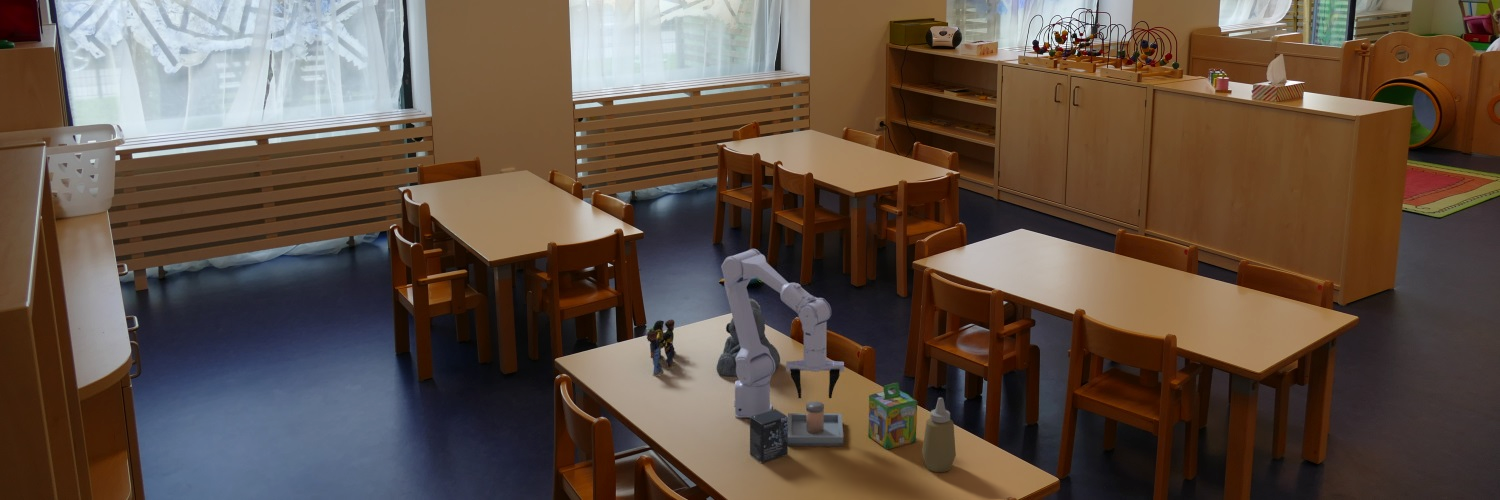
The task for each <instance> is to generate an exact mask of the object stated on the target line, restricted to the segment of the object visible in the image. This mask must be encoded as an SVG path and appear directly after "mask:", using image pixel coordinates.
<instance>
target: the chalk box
mask: <svg viewBox="0 0 1500 500" xmlns="http://www.w3.org/2000/svg"><path fill="white" fill-rule="evenodd" d="M917 416H918V401H917V399H914V398H913V397H912V396H910V395H909V394H908V393H906V392H903V391H901V389H900V384H899V382H893V383H890V384H885V385H884V386H883V391H880V392H877V393H873V394H869V395H868V432H867V433H868V437H869V439H870V438H871V439H872V440H873V441H875V442H876V443H878V444H879V445H880V446H882V447H884V448H885V449H886V450H889V449H895V448H898V447H902V446H905V445H909V444H912V443H916V442H917V441H916V440H917V420H918V419H917Z"/></svg>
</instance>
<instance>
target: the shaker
mask: <svg viewBox="0 0 1500 500" xmlns="http://www.w3.org/2000/svg"><path fill="white" fill-rule="evenodd" d="M805 409H806V410H805V411H806V430H807V432H809V433H811V434H819V433H822V432H823V431H824V413H825V412H824V411H825V404H824V403H823V402H821V401H817V400H814V401H808V402H807V403H806V405H805Z"/></svg>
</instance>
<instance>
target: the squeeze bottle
mask: <svg viewBox="0 0 1500 500" xmlns="http://www.w3.org/2000/svg"><path fill="white" fill-rule="evenodd" d="M935 405H936V406H935V409H931V411H930V418H928V419H927V420H926V421H925V422H926V423H925V429H924V436H923V442H922V450H921V453H922V454H921V455H922V458H923V461H924V464H925V467H926V468H927V470H929V471H931V472H935V473H945V472H948V471H950V470H951V468H952V466H953V464H954V461H955V458H956V457H957V454H956V453H957V452H956V440H955V439H956V437H955V424H954V421H953V420H952V419H951V412H950V411H949V410H947V409H946V407H945V406H946V405H945V401H944V397H938V398H937V402H936V404H935Z"/></svg>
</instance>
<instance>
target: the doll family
mask: <svg viewBox="0 0 1500 500" xmlns="http://www.w3.org/2000/svg"><path fill="white" fill-rule="evenodd" d="M675 323H676V322H675V320H674V319H668V320H667V321H664V320H661V319H659V320H657V321H655V323H654V325H653V326H652V327H651V328H648V327H646V330H648V331H647V333H646V335H645V336H646V340H647V342H649V346H650V347H649V350H650V359H652V364H653V371H652V376H654V377H661V376H662V375H663V374H662V373H664V369H663V368H662V365H661V364H660V363H663V362H664V361H665V363H666V364H667V366H666V367H665V369H666V370H675V369H676V367H675V366H677V365H678V363H677V362H676V361H674V360H673V359H674V358H676V357H678V355H677V352H676V350H675V347H674V336H675V335H674V328H675ZM664 326H665V327H666V331H664V330H663V328H664ZM661 349H664V353H665V356H666V359H665V356H663V355H662V354H661V352H662V350H661ZM664 359H665V360H664Z"/></svg>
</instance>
